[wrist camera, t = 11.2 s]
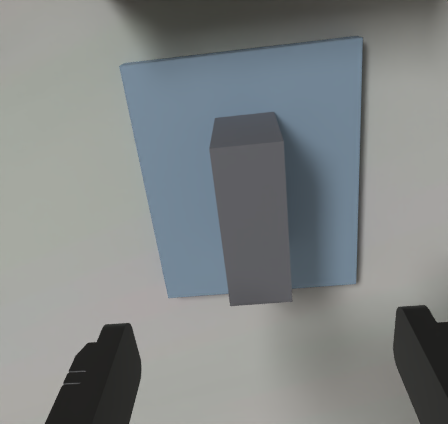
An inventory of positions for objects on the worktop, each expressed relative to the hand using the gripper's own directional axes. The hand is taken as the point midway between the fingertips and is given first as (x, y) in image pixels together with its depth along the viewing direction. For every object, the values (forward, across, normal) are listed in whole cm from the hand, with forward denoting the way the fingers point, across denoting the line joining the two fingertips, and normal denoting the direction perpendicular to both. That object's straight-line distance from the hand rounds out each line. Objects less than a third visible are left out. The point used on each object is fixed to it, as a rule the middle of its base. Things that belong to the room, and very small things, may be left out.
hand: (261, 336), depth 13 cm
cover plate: (+13, 0, 0) cm, 13 cm away
